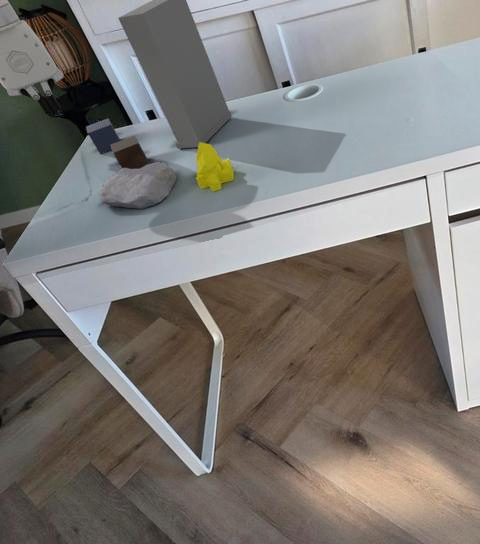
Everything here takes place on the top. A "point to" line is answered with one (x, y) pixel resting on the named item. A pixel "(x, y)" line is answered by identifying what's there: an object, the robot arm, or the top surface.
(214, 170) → the crumpled paper
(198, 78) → the tall grey pillar
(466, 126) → the top surface
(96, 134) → the slate block
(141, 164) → the walnut block
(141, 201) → the grey rock
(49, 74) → the robot arm
